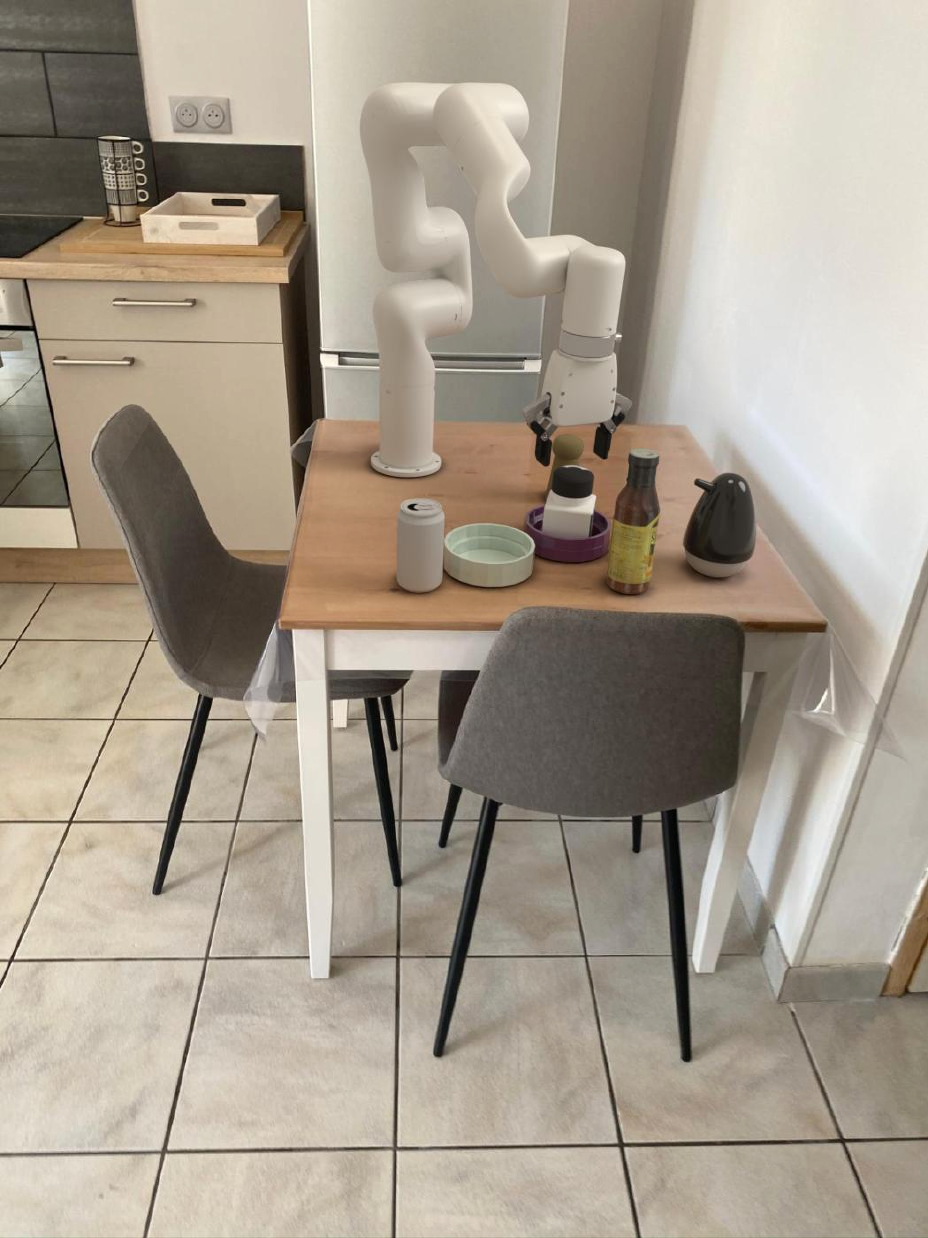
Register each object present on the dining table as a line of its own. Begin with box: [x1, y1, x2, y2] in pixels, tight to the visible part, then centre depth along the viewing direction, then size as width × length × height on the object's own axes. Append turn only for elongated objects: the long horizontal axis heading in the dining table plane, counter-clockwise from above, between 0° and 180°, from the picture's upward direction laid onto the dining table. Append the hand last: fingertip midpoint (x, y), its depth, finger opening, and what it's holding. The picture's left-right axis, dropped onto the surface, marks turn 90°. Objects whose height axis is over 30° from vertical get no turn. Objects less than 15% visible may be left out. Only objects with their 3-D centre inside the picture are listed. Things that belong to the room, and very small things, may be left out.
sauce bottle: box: [606, 447, 661, 595], centre depth 132 cm, size 7×6×20 cm
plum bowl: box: [522, 503, 612, 563], centre depth 146 cm, size 13×13×4 cm
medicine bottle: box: [542, 465, 597, 538], centre depth 144 cm, size 7×7×12 cm
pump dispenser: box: [682, 471, 757, 578], centre depth 138 cm, size 10×10×15 cm
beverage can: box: [396, 497, 445, 594], centre depth 131 cm, size 6×6×12 cm
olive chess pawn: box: [544, 433, 585, 501], centre depth 159 cm, size 6×6×11 cm
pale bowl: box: [443, 522, 536, 588], centre depth 139 cm, size 13×13×4 cm
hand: (571, 459), depth 141 cm, fingers open, 9 cm apart
